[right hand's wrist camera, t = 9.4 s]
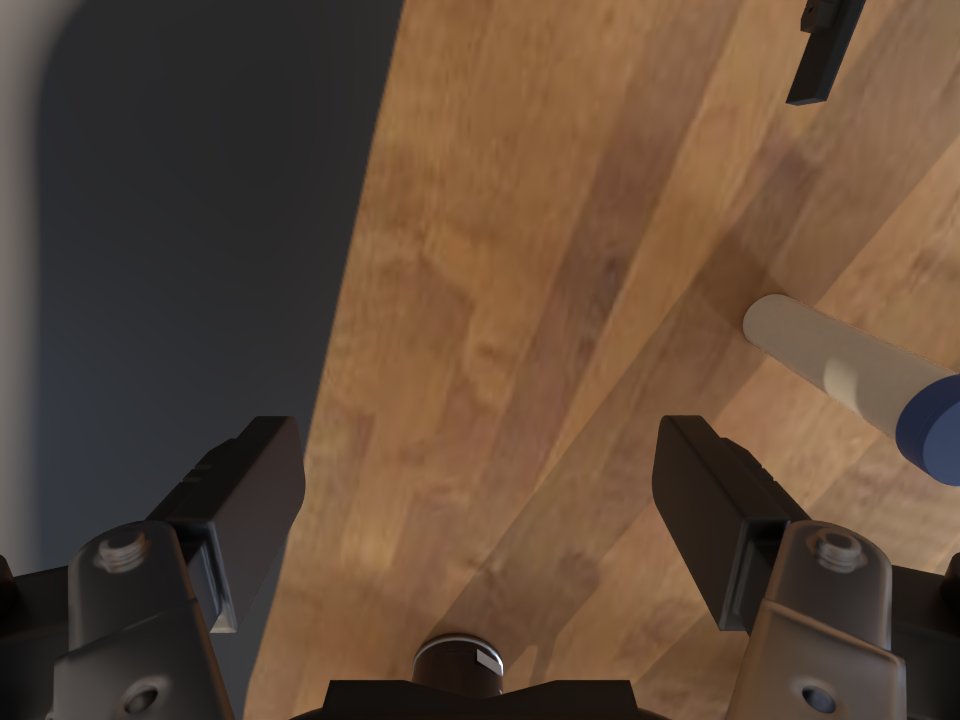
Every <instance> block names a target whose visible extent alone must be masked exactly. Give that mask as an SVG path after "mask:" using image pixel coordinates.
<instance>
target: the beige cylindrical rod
mask: <svg viewBox="0 0 960 720" xmlns="http://www.w3.org/2000/svg"><path fill="white" fill-rule="evenodd" d="M743 332H744V335H745V337H746V338H747V340H748V341H749V342H751V343H752V344H753V345H755V346H756V347H758V348H759V349H761V350H762V351H764V352H765V353H767V354H768V355H769V356H771V357H772V358H774V359H775V360H777V361H778V362H780V363H781V364H783V365H784V366H786V367H787V368H788V369H790V370H791V371H793V372H794V373H796V374H797V375H799V376H800V377H802V378H803V379H805V380H806V381H807V382H809V383H810V384H812V385H813V386H815V387H816V388H818V389H819V390H821V391H822V392H824V393H825V394H826V395H828V396H829V397H831V398H832V399H834V400H835V401H837V402H838V403H840V404H841V405H843V406H844V407H845V408H847V409H848V410H850V411H851V412H853V413H854V414H856V415H857V416H859V417H860V418H862V419H863V420H865V421H866V422H867V423H869V424H870V425H872V426H873V427H875V428H876V429H878V430H879V431H881V432H882V433H884V434H885V435H886V436H888V437H889V438H891V439H892V440H894V441H895V442H896V439H895V431H896V425H897V422H898V419H899V417H900V415H901V413H902V411H903V409H904V408H905V406H906V405H907V404H908V402H909V401H910V400H911V399H912V398H913V397H914V396H915V395H916V394H917V393H919V392H920V391H921V390H922V389H924V388H925V387H927V386H928V385H930V384H932V383H933V382H935V381H938V380H940V379H942V378H945V377H948V376H952V375H956V374H959V373H957V372H955V371H953V370H950V369H948V368H946V367H944V366H942V365H939V364H937V363H935V362H933V361H930V360H928V359H926V358H924V357H922V356H919V355H917V354H915V353H913V352H910V351H908V350H906V349H904V348H902V347H899V346H897V345H895V344H893V343H891V342H888V341H886V340H884V339H882V338H879V337H877V336H875V335H873V334H871V333H868V332H866V331H864V330H862V329H859V328H857V327H855V326H853V325H851V324H848V323H846V322H844V321H842V320H839V319H837V318H835V317H833V316H831V315H828V314H826V313H824V312H822V311H819V310H817V309H815V308H813V307H811V306H808V305H806V304H804V303H802V302H799V301H797V300H795V299H793V298H791V297H788V296H786V295H783V294H771V295H767V296H764V297H762V298H760V299H759V300H757V301H756V302H755V303H753V304H752V305H751V306H750V308H749V309H748V310H747V312H746V314H745V316H744V320H743Z"/></svg>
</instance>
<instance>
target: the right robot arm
mask: <svg viewBox="0 0 960 720" xmlns="http://www.w3.org/2000/svg"><path fill="white" fill-rule="evenodd" d="M652 491H653V497H654V501H655V504H656V507H657V509H658V510H659V512H660V514H661V516H662V518H663V520H664V522H665V524H666V526H667V528H668V530H669V532H670V534H671V536H672V538H673V540H674V542H675V544H676V546H677V548H678V550H679V552H680V553H681V555H682V557H683V559H684V561H685V563H686V565H687V567H688V569H689V571H690V573H691V575H692V577H693V579H694V581H695V583H696V585H697V587H698V589H699V591H700V593H701V595H702V596H703V598H704V600H705V602H706V604H707V606H708V608H709V610H710V612H711V614H712V616H713V618H714V620H715V622H716V624H717V626H718V628H719V630H720V631H747V633H748V635H749V637H750V640H749V643H748V646H747V650H746V653H745V656H744V659H743V662H742V666H741V669H740V672H739V675H738V679H737V682H736V685H735V688H734V691H733V695H732V698H731V701H730V704H729V707H728V711H727V714H726V717H725V720H960V552H959V553H957V554H955V555H954V556H953V557H952V559H951V562H950V564H949V566H948V569H947V571H946V574H945V576H943V575H938V574H933V573H928V572H924V571H919V570H914V569H909V568H905V567H900V566H895V565H891V563H890V561H889V559H888V558H887V556H886V555H885V553H884V552H883V551H882V550H881V549H880V548H879V547H877V546H876V545H875V544H874V543H872V542H871V541H869V540H868V539H866V538H865V537H863V536H861V535H859V534H858V533H856V532H853V531H851V530H849V529H847V528H844V527H841V526H839V525H835V524H832V523H827V522H823V521H815V520H812V519H811V518H810V517H809V516H808V515H807V514H806V513H805V511H804V510H803V509H802V508H801V507H800V506H799V505H798V504H797V503H796V502H795V501H794V500H793V499H792V497H791V496H790V495H789V494H788V493H787V492H786V491H785V490H784V489H783V488H782V487H781V486H780V485H779V483H778V482H777V481H773V477H772V476H771V475H770V474H769V473H768V472H767V471H766V469H765V468H762V465H761V464H760V463H759V462H758V461H757V460H756V459H755V458H754V457H753V455H752V454H751V453H750V452H749V451H748V450H746V449H745V448H743V447H741V446H740V445H738V444H736V443H734V442H733V441H731V440H729V439H728V438H720V437H719V436H718V435H717V433H716V432H715V431H714V430H713V429H712V428H711V427H710V425H709V424H708V423H707V422H706V421H705V420H704V418H702V417H701V416H698V415H665V416H664V417H663V418H662V419H661V422H660V426H659V432H658V439H657V446H656V453H655V460H654V467H653V474H652ZM304 495H305V472H304V466H303V459H302V452H301V445H300V438H299V431H298V425H297V422H296V420H295V418H294V417H292V416H257V417H255V418H254V419H253V420H252V422H251V423H250V424H249V425H248V426H247V427H246V428H245V429H244V431H243V432H242V433H241V434H240V435H239V436H238V437H237V439H229V440H227V441H226V442H224V443H222V444H221V445H219V446H217V447H215V448H214V449H212V450H210V451H209V452H208V453H207V454H206V455H205V456H204V457H203V458H202V459H201V460H200V461H199V462H198V463H197V465H196V466H195V469H192V470H191V471H190V472H189V473H188V474H187V475H186V476H185V477H184V478H183V482H180V483H179V484H178V485H177V486H176V487H175V488H174V489H173V490H172V491H171V492H170V493H169V494H168V496H167V497H166V498H165V499H164V500H163V501H162V502H161V503H160V504H159V505H158V506H157V507H156V508H155V509H154V511H153V512H152V513H151V514H150V515H149V516H148V517H147V518H146V519H145V520H144V521H137V522H133V523H128V524H125V525H121V526H119V527H116V528H113V529H111V530H109V531H107V532H104V533H102V534H101V535H99V536H97V537H95V538H94V539H92V540H91V541H89V542H88V543H86V544H85V545H84V546H83V547H81V548H80V549H79V550H78V552H76V554H75V555H74V556H73V558H72V559H71V561H70V563H69V565H68V566H64V567H59V568H54V569H50V570H45V571H40V572H35V573H31V574H26V575H21V576H16V577H13V575H12V573H11V571H10V568H9V566H8V564H7V561H6V559H5V558H4V557H3V556H2V555H0V720H235V717H234V714H233V711H232V708H231V704H230V701H229V698H228V695H227V691H226V688H225V685H224V682H223V679H222V675H221V672H220V669H219V666H218V663H217V659H216V656H215V653H214V650H213V646H212V643H211V640H210V637H209V633H236V632H237V630H238V628H239V626H240V624H241V622H242V620H243V618H244V616H245V614H246V612H247V611H248V609H249V607H250V605H251V603H252V601H253V599H254V597H255V595H256V593H257V591H258V589H259V587H260V585H261V583H262V582H263V579H264V578H265V576H266V574H267V572H268V570H269V568H270V566H271V564H272V562H273V560H274V558H275V556H276V555H277V553H278V551H279V549H280V547H281V545H282V543H283V541H284V539H285V537H286V535H287V533H288V531H289V529H290V527H291V526H292V524H293V522H294V520H295V518H296V516H297V514H298V512H299V510H300V508H301V506H302V503H303V500H304ZM412 675H413V676H412V682H409V681H405V680H330V683H329V687H328V690H327V694H326V697H325V701H324V704H323V707H322V708H319V709H315V710H312V711H309V712H306V713H304V714H301V715H299V716H296V717H293V718H291V719H289V720H671V719H669V718H667V717H664V716H661V715H659V714H656V713H654V712H651V711H648V710H645V709H641V708H638V707H637V704H636V701H635V697H634V694H633V690H632V687H631V683H630V680H555V681H551V682H548V683H544V684H540V685H536V686H532V687H528V688H525V689H521V690H517V691H513V692H509V693H506V694H503V683H502V677H503V663H502V659H501V657H500V655H499V653H498V652H497V650H496V649H495V648H494V647H493V646H492V645H490V644H489V643H487V642H486V641H484V640H482V639H480V638H477V637H474V636H470V635H463V634H452V635H445V636H441V637H437V638H435V639H433V640H431V641H429V642H427V643H426V644H424V645H423V646H422V647H421V648H420V649H419V650H418V652H417V653H416V655H415V657H414V661H413V667H412Z"/></svg>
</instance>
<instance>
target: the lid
mask: <svg viewBox="0 0 960 720" xmlns="http://www.w3.org/2000/svg"><path fill="white" fill-rule="evenodd" d="M895 439H896V443H897V446H898V449H899V450H900V452H901V454H902V455H903V456H904V457H905V458H906V459H907V460H909V461H910V462H911V463H913V464H914V465H916V466H917V467H919V468H920V469H921V470H923V471H924V472H926V473H927V474H928V475H930V476H931V477H933V478H934V479H936V480H937V481H939V482H941V483H944V484H947V485H951V486H959V487H960V374H956V375H952V376H948V377H945V378H942V379H940V380H938V381H935V382H933V383H932V384H930V385H928V386H927V387H925V388H924V389H922V390H921V391H920V392H919V393H917V394H916V395H915V396H914V397H913V398H912V399H911V400H910V401H909V402H908V404H907V405H906V406H905V408H904V409H903V411H902V413H901V415H900V417H899V419H898V422H897V425H896V431H895Z"/></svg>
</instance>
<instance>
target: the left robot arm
mask: <svg viewBox="0 0 960 720" xmlns="http://www.w3.org/2000/svg"><path fill="white" fill-rule="evenodd" d="M865 1H866V0H808V1H807V4H806V8H805V9H804V12H803V15H802V18H801V31H803V32H808V33H811V35H810V38H809V40H808V43H807V46H806V48H805V51H804V54H803V57H802V59H801V62H800V65H799V67H798V70H797V73H796V76H795V78H794V81H793V84H792V86H791V89H790V92H789V95H788V97H787V100H786V103H787V104H792V105H796V106H799V105H805V104H811V103H817V102H823V101H826V100H827V98H828V95H829V93H830V90H831V88H832V85H833V83H834V80H835V78H836V75H837V73H838V70H839V67H840V65H841V62H842V60H843V57H844V55H845V52H846V50H847V47H848V45H849V42H850V40H851V37H852V34H853V32H854V29H855V27H856V24H857V22H858V19H859V17H860V14H861V12H862V9H863V7H864V4H865Z"/></svg>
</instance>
